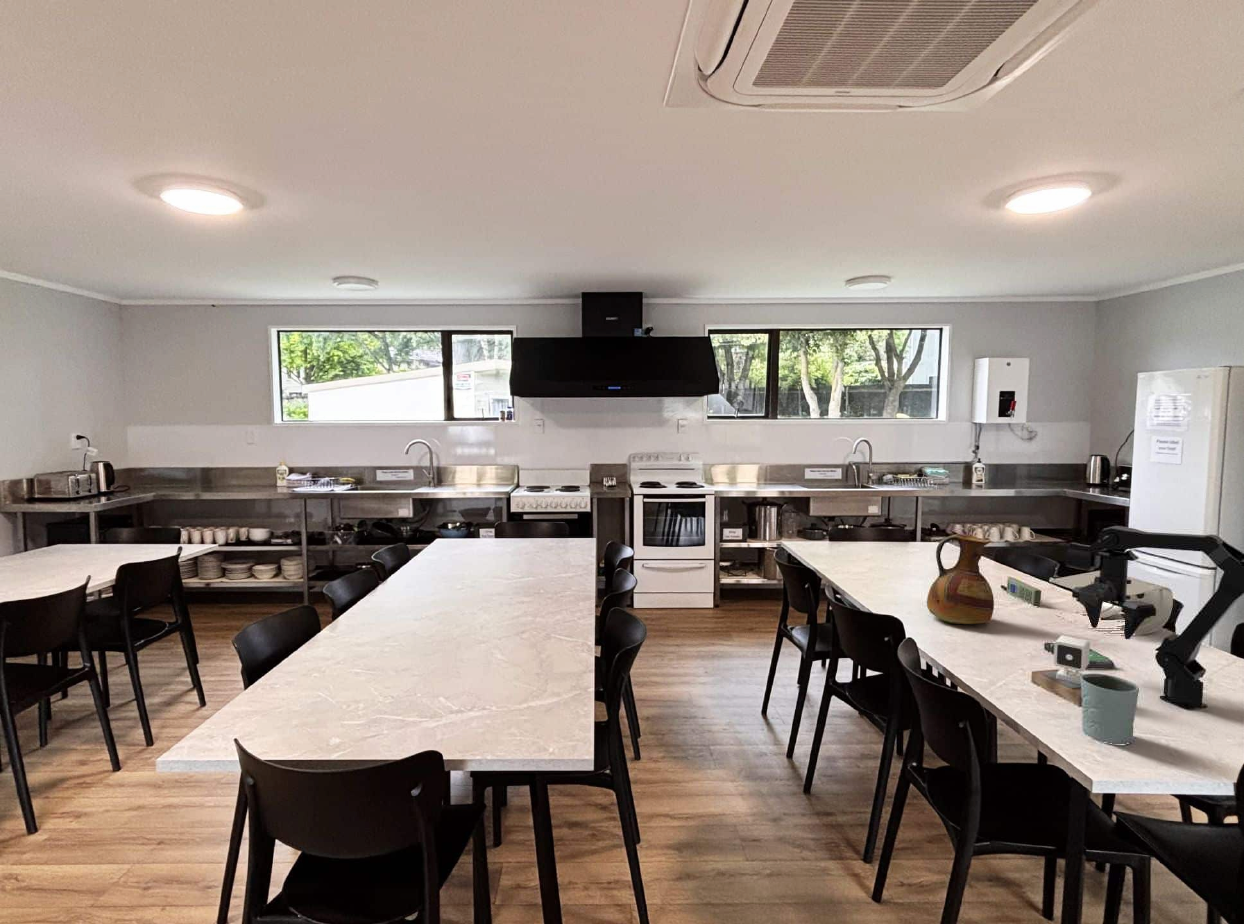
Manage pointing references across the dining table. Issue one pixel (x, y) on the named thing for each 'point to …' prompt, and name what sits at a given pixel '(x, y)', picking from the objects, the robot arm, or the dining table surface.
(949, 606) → the ceramic pitcher
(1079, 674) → the security camera
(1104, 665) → the disk drive
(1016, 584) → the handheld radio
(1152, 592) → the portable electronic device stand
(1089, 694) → the green plant pot
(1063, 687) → the walnut stand
